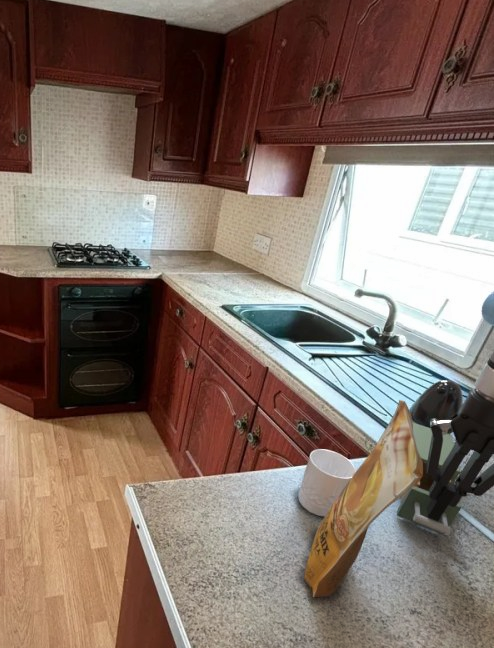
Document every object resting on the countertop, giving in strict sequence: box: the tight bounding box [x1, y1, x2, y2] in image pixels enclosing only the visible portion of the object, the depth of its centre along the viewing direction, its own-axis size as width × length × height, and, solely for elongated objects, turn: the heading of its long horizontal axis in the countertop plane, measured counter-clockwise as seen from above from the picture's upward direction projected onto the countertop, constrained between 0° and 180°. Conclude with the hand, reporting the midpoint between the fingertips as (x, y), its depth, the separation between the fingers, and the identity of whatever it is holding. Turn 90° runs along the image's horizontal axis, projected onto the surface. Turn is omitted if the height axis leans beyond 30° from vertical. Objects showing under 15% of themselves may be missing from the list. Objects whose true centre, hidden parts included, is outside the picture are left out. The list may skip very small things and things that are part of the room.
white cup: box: [297, 448, 358, 517], centre depth 76 cm, size 8×8×10 cm
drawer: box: [396, 462, 462, 536], centre depth 76 cm, size 18×7×7 cm, turn 148°
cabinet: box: [413, 423, 461, 484], centre depth 86 cm, size 15×9×9 cm, turn 148°
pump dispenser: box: [408, 379, 464, 435], centre depth 101 cm, size 10×10×15 cm
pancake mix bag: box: [303, 399, 423, 598], centre depth 60 cm, size 7×19×28 cm, turn 145°
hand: (432, 514), depth 70 cm, fingers closed
